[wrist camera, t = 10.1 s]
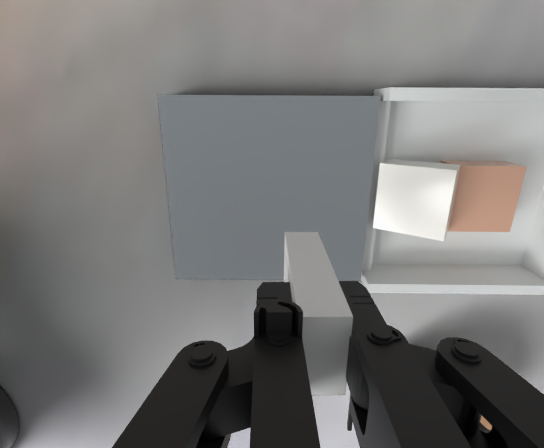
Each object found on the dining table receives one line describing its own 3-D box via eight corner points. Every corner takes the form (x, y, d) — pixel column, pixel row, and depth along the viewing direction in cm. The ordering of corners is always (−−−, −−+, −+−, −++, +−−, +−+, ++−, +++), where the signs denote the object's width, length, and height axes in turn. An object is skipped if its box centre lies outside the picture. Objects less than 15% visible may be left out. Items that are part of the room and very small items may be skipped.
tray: (356, 269, 31) (367, 292, 27) (373, 89, 26) (390, 87, 22) (524, 271, 31) (559, 294, 27) (575, 90, 25) (628, 88, 22)
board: (185, 262, 31) (175, 278, 28) (170, 95, 26) (157, 94, 23) (353, 264, 30) (360, 281, 28) (369, 96, 26) (380, 96, 23)
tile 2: (381, 219, 29) (372, 227, 27) (389, 158, 27) (379, 163, 25) (448, 230, 26) (443, 241, 24) (460, 164, 24) (456, 170, 22)
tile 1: (509, 232, 26) (490, 221, 28) (526, 166, 24) (504, 160, 27) (444, 231, 26) (430, 220, 29) (456, 165, 24) (440, 160, 27)
